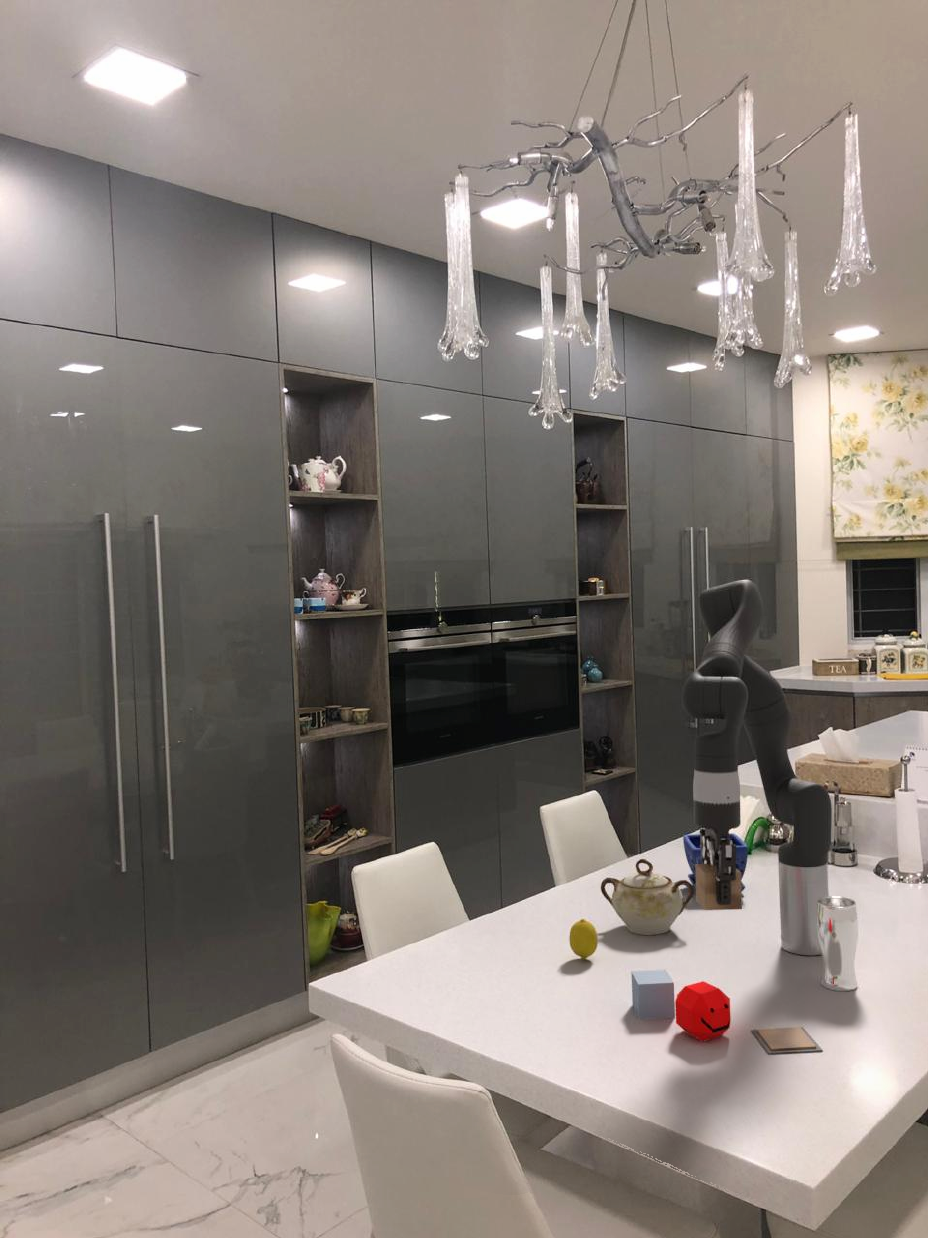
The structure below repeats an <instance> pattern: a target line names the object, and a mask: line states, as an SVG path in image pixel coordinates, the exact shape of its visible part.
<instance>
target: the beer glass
mask: <svg viewBox="0 0 928 1238" xmlns="http://www.w3.org/2000/svg"><path fill="white" fill-rule="evenodd" d="M858 919H859V917H858V911H857V902H856V900H854V899H852V898H848V897H844V896H836V895H833V896H832V895H831V896H830V895H829V896H828V897H822V898H819V899H818V900H817V933H818V939H819V944H820V948H821V953H822V954H821V958H822V974H821V982H820V983H821V985H822V987H824V988H826V989H828V990H831V991H837V992H849V991H854V990H855V989H857V988H858V980H857V976H856V975H857V974H856V970H855V961H856V954H857V953H856V952H857V946H858V938H859V921H858Z"/></svg>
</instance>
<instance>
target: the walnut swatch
mask: <svg viewBox="0 0 928 1238" xmlns="http://www.w3.org/2000/svg"><path fill="white" fill-rule="evenodd" d="M750 1031H751V1032H752V1034H753V1035H754V1036H755V1038H756V1039H757V1040H758V1042H759V1043H760V1045H761V1046H762V1048H763V1049H764V1050H765V1051H766V1053H767V1054H768V1055H779V1054H781V1055H782V1054H797V1053H798V1054H799V1053H814V1052H815V1053H817V1052H818V1053H819V1052H823V1051H824V1050H823V1049H822V1048H821V1046H820V1045H819V1043H817V1041H816V1040H814V1038H813V1037H812V1035H810V1033H809V1032H808V1031H807V1030H806V1028H804V1026H798V1027H797V1026H796V1027H781V1028H779V1027H778V1028H760V1029H751V1030H750Z"/></svg>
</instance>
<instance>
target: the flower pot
mask: <svg viewBox="0 0 928 1238" xmlns="http://www.w3.org/2000/svg"><path fill="white" fill-rule="evenodd" d="M729 837H730V839H732V844H735V845H736V847H737V850H736V868H737V869H738V870H739V871H740V872H741V889H742V892H743V891H744V890H745V888H746V885H745V884H744V883H743V881H742V879H743V877H744V875H745V871H746V869H747V863H748V855H749V847H748V845H747V844H746V843H745V841H744V840H743V839H741V837H740V836H738V835H737V834H736V833H731V832H729ZM682 839H683V848H684V853H685V856H686V861H687V863H688V867H689V868H690V871H691V873H688V875H687V877H688V879H689V882H690V883H691V885H692V886H693V888H694V889H695V890H696V869H695V864H702V862H701V843H700V833H698V834H695V833H694V834H684V835H683V837H682Z"/></svg>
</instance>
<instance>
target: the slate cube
mask: <svg viewBox="0 0 928 1238" xmlns="http://www.w3.org/2000/svg"><path fill="white" fill-rule="evenodd" d="M630 973H631V991H632V992H631V995H632V1007H633V1009H634V1010H635V1013H636V1015H637V1017H638V1019H639V1020H652V1019H653V1020H654V1019H672V1018H675V1019H676V1007H675V983H674V980H673V979H672V977H671V976H670V974H669V973H668V971H667V969H651V970H650V969H649V970H648V969H647V970H632V971H631V972H630Z"/></svg>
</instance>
